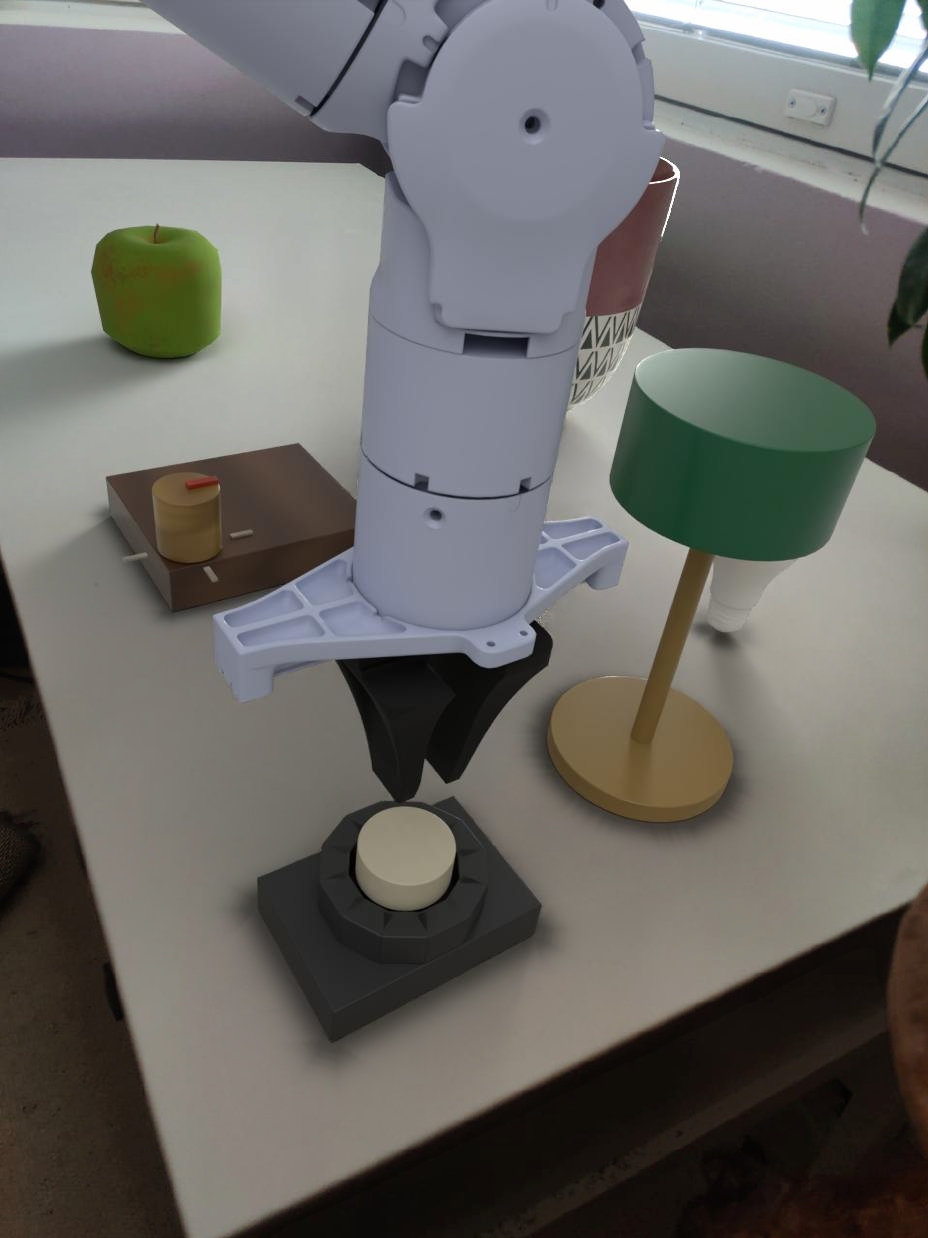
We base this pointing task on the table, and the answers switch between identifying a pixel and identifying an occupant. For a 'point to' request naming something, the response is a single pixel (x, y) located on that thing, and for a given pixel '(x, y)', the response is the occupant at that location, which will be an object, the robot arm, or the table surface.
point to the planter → (621, 285)
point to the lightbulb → (738, 589)
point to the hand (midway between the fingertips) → (416, 773)
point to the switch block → (390, 922)
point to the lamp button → (405, 858)
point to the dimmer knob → (187, 517)
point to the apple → (158, 290)
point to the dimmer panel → (242, 523)
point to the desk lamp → (705, 552)
